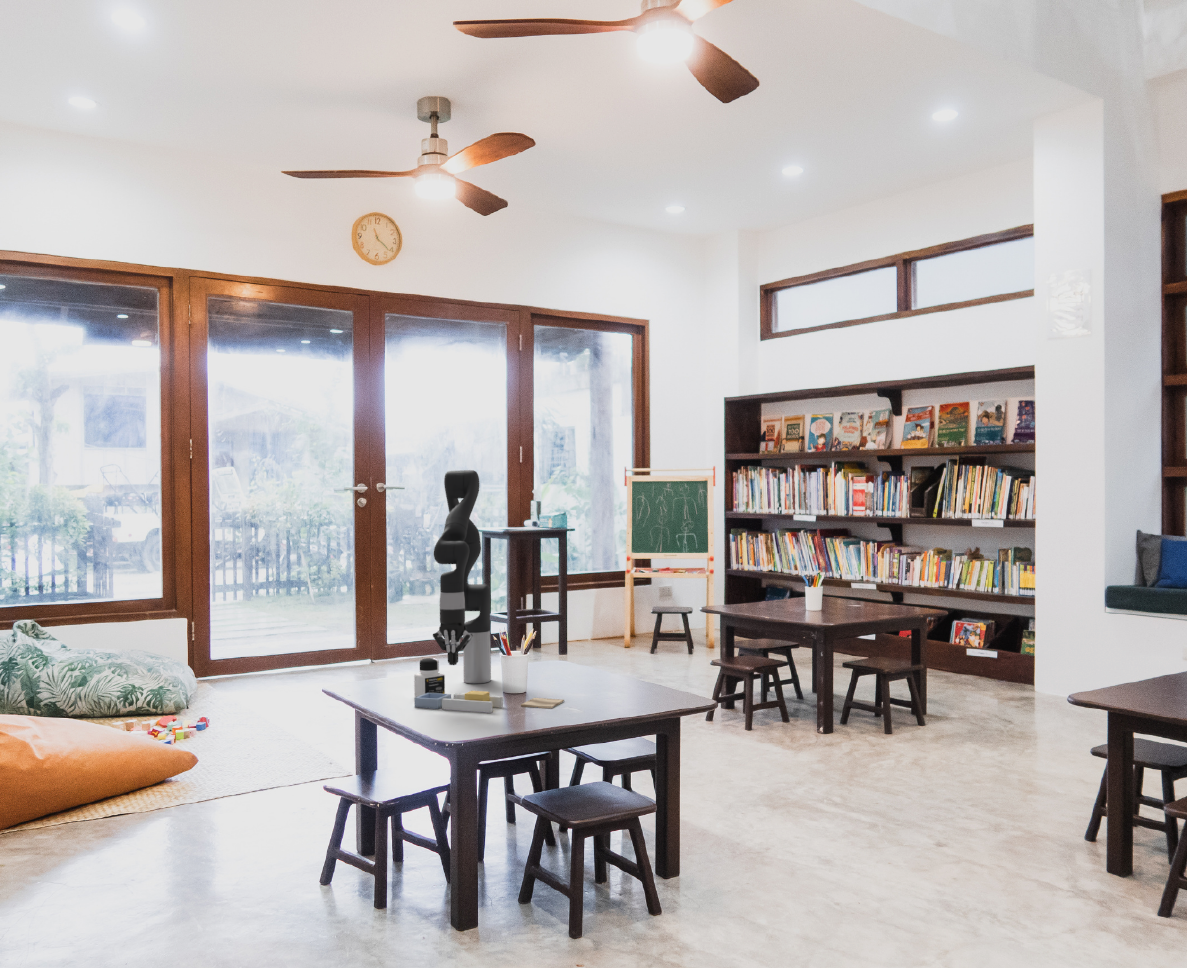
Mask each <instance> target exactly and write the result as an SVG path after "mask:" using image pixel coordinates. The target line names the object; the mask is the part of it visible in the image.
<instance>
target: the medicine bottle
mask: <svg viewBox="0 0 1187 968" xmlns="http://www.w3.org/2000/svg"><path fill="white" fill-rule="evenodd" d="M439 671H440V660H439V659H437V658H434V657H427V658H422V659H420V661H419V673H415V674H414V676H413V677H414V681H413V682H414V685H413V686H414V687H413V688H414V698H416V697H418V696H421V695H423V694H426V693H440V694H446V690H445V689H446V684H445V677H446V675H445V674H444V673H441V672H439Z"/></svg>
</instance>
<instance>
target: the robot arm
mask: <svg viewBox="0 0 1187 968" xmlns="http://www.w3.org/2000/svg"><path fill="white" fill-rule="evenodd" d="M443 479H444V482H443V484H444V492H445V497H446V502H447V508H448V512H449V513H448V515H447V516H446V519H445V523H444V527H443V531H442V533H441V536H440V537H439V538H438V540H437V542H436V544H435V546H434V548H433V558H434V561H435V562H436V563H438V564H439V565H455V569H454V570H451V571H446V572H443V573H442V574H440V580H439V581H440V582H439V583H440V586H439V587H440V593H439V594H440V595H439V624H440V625H439V628H438V629H439V630H437V632H434V633H433V634H432V637H433V640H435V642H436V644H437V645H438V646H439V648H440V649H441V650H442V651H445V652H447V663H448V665H449V666H455V665H457V664H458V662H459V652H460V651H462V653H463V682H464V683H466V684H484V683H489V682H491V679H492V665H491V664H492V660H491V659H492V653H491V600H492V596H491V595H492V593H491V588H490V586H489V585H488V584H486V583H485V584H483V583H482V584H480V583H477V584H476V583H475V584H473V583H472V584H470V583H469V581H468V580H469V579H468V578H469V575H470V573H471V571H472V569H473V567H474V565H475V564H476V562H477V560H478V559H479V557H480V555H481V551H482V546H481V545H482V544H481V536H480V535H481V534H480V531H479V529H478V528H477V526H476V525H475V523H474V522H473V521H472V520H471V519H470V518H471V514H472V512H473V509H474V507H475V504H476V501H477V499H478V496H479V493H480V492H479V491H480V477H479V474H478V472H477V471H476V470H471V469H465V470H464V469H463V470H448V471H446V473H445V475H444V478H443ZM459 499H462V500H460V501H459ZM466 612H479V614H478V616H476V618H473V619H471V620H468V621H466ZM461 639H462V640H461Z"/></svg>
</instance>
